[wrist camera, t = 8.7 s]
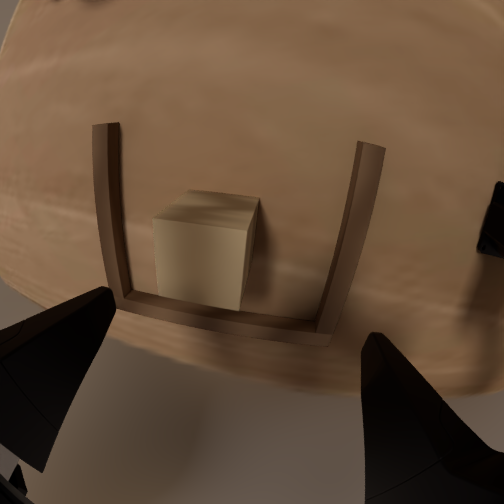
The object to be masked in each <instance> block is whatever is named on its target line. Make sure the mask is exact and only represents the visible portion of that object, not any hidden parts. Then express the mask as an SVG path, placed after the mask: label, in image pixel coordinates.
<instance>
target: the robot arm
mask: <svg viewBox="0 0 504 504" xmlns="http://www.w3.org/2000/svg"><path fill="white" fill-rule="evenodd" d="M500 187H501V189H500ZM482 246H483V247H482ZM478 250H479V251H480V252H481V253H484V254H488V255H492V256H496V257H500V258H503V259H504V183H503V182H501V181H498V182H497V184H496V188H495V192H494V196H493V200H492V203H491V207H490V210H489V214H488V217H487V220H486V223H485V227H484V230H483V232H482V235H481V238H480V241H479V244H478ZM115 312H116V303H115V299H114V294H113V291H112V289H111V288H108V287H104V286H101V287H98V288H96V289H94V290H91V291H89V292H87V293H84V294H82V295H80V296H77V297H75V298H73V299H70V300H68V301H66V302H63V303H61V304H59V305H56V306H54V307H52V308H50V309H47V310H45V311H43V312H41V313H39V314H36V315H34V316H32V317H30V318H27V319H26V320H23V321H21V322H19V323H16V324H14V325H12V326H10V327H7V328H5V329H2V330H0V504H34V503H33V502H32V501H30V500H29V499H28V498H26V497H25V496H26V494H27V492H28V491H27V488H26V485H25V481H24V478H23V474H22V470H21V467H20V465H19V464H18V461H19V459H21V460H23V461H24V462H26V463H27V464H29V465H30V466H32V467H33V468H35V469H36V470H38V471H39V472H41V473H43V471H44V468H45V466H46V463H47V460H48V458H49V455H50V452H51V450H52V447H53V445H54V442H55V440H56V437H57V435H58V432H59V430H60V428H61V425H62V423H63V421H64V418H65V416H66V414H67V412H68V409H69V407H70V405H71V403H72V401H73V399H74V397H75V395H76V393H77V390H78V389H79V386H80V384H81V383H82V381H83V379H84V377H85V374H86V373H87V371H88V369H89V367H90V365H91V363H92V361H93V359H94V357H95V356H96V354H97V352H98V350H99V348H100V346H101V344H102V342H103V340H104V338H105V335H106V333H107V331H108V328H109V326H110V324H111V321H112V319H113V317H114V315H115ZM361 402H362V413H363V428H364V446H365V504H504V453H503V452H498V451H496V450H493V449H492V448H490V447H489V446H488V445H486V444H485V443H484V442H483V441H482V440H481V439H480V438H479V437H478V436H477V435H476V434H475V433H474V432H473V431H472V430H471V429H470V428H469V427H468V426H467V425H466V424H465V423H464V422H463V421H462V420H461V419H460V418H459V417H458V416H457V415H456V413H455V412H454V411H453V410H452V409H451V408H450V407H449V406H448V404H447V403H446V402H445V401H444V400H442V398H441V396H440V395H439V394H438V393H437V392H436V391H435V390H434V388H433V387H432V386H431V385H430V384H429V383H428V382H427V381H426V379H425V378H424V377H423V376H422V375H421V374H420V373H419V372H418V371H417V369H416V368H415V367H414V366H413V365H412V364H411V363H410V362H409V361H408V360H407V359H406V357H405V356H404V355H403V354H402V353H401V352H400V351H399V350H398V349H397V348H396V347H395V346H394V345H393V344H392V342H391V341H390V340H389V339H388V338H387V337H386V336H385V335H384V334H383V333H379V332H371V333H370V334H369V336H368V338H367V340H366V342H365V344H364V346H363V348H362V351H361Z"/></svg>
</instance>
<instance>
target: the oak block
mask: <svg viewBox="0 0 504 504" xmlns="http://www.w3.org/2000/svg"><path fill="white" fill-rule="evenodd" d="M258 205H259V198H258V197H250V196H243V195H235V194H226V193H218V192H209V191H199V190H188V191H187V192H186V193H184V194H183V195H182V196H180V197H179V198H178V199H176V200H175V201H174V202H173V203H171V204H170V205H169V206H167V207H166V208H165V209H164V210H162V211H161V212H160V213H159V214H157V215H156V216H155V217H154V218H153V236H154V252H155V264H156V275H157V285H158V294H159V296H163V297H167V298H172V299H177V300H182V301H187V302H192V303H197V304H202V305H208V306H213V307H219V308H225V309H230V310H236V311H239V310H240V306H241V302H242V298H243V294H244V290H245V286H246V282H247V278H248V275H249V271H250V267H251V263H252V256H253V248H254V239H255V231H256V222H257V214H258Z"/></svg>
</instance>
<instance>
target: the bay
mask: <svg viewBox="0 0 504 504" xmlns="http://www.w3.org/2000/svg"><path fill="white" fill-rule="evenodd" d="M385 150H386V148H384V147H381V146H377V145H373V144H369V143H365V142H361V141H358V142H357V148H356V154H355V160H354V165H353V171H352V176H351V181H350V186H349V191H348V196H347V201H346V205H345V210H344V215H343V219H342V223H341V228H340V232H339V236H338V240H337V244H336V248H335V252H334V256H333V260H332V263H331V267H330V271H329V275H328V278H327V282H326V285H325V289H324V292H323V296H322V299H321V302H320V306H319V309H318V312H317V315H316V318H315V321H308V320H300V319H292V318H284V317H277V316H270V315H263V314H256V313H250V312H243V311H236V310H230V309H225V308H219V307H213V306H208V305H202V304H197V303H192V302H187V301H182V300H177V299H172V298H167V297H162V296H158V295H153V294H149V293H144V292H140V291H135V290H131V286H130V280H129V274H128V268H127V261H126V253H125V246H124V237H123V228H122V217H121V204H120V188H119V122H117V123H106V124H97V125H92V155H93V178H94V192H95V203H96V213H97V221H98V229H99V236H100V243H101V249H102V255H103V261H104V266H105V271H106V276H107V281H108V286H109V288H111V289H112V291H113V294H114V299H115V303H116V308H117V309H120V310H124V311H128V312H131V313H135V314H139V315H143V316H147V317H151V318H155V319H159V320H163V321H168V322H172V323H177V324H181V325H186V326H191V327H195V328H200V329H205V330H211V331H216V332H221V333H227V334H233V335H239V336H245V337H251V338H257V339H264V340H271V341H279V342H287V343H295V344H304V345H313V346H323V347H328V345H329V343H330V341H331V338H332V336H333V333H334V330H335V328H336V325H337V323H338V320H339V317H340V315H341V312H342V309H343V306H344V304H345V301H346V298H347V295H348V292H349V289H350V286H351V283H352V280H353V277H354V274H355V271H356V268H357V265H358V261H359V258H360V255H361V251H362V248H363V245H364V241H365V238H366V234H367V230H368V227H369V223H370V219H371V215H372V211H373V207H374V203H375V198H376V194H377V190H378V185H379V181H380V176H381V171H382V166H383V161H384V155H385Z"/></svg>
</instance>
